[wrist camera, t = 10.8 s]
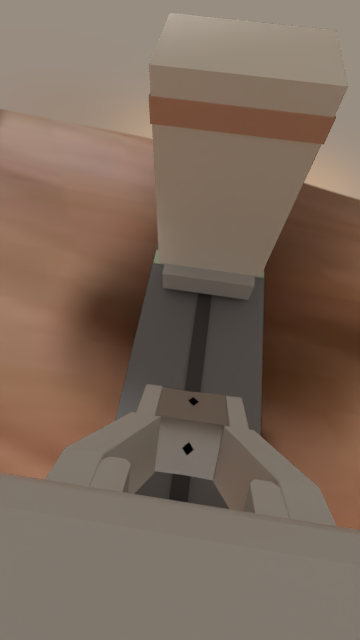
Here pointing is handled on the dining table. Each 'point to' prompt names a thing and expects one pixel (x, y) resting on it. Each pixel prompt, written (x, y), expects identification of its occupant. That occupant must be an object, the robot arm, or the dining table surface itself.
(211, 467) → the robot arm
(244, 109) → the slider knob
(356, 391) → the dining table surface
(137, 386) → the slider track
